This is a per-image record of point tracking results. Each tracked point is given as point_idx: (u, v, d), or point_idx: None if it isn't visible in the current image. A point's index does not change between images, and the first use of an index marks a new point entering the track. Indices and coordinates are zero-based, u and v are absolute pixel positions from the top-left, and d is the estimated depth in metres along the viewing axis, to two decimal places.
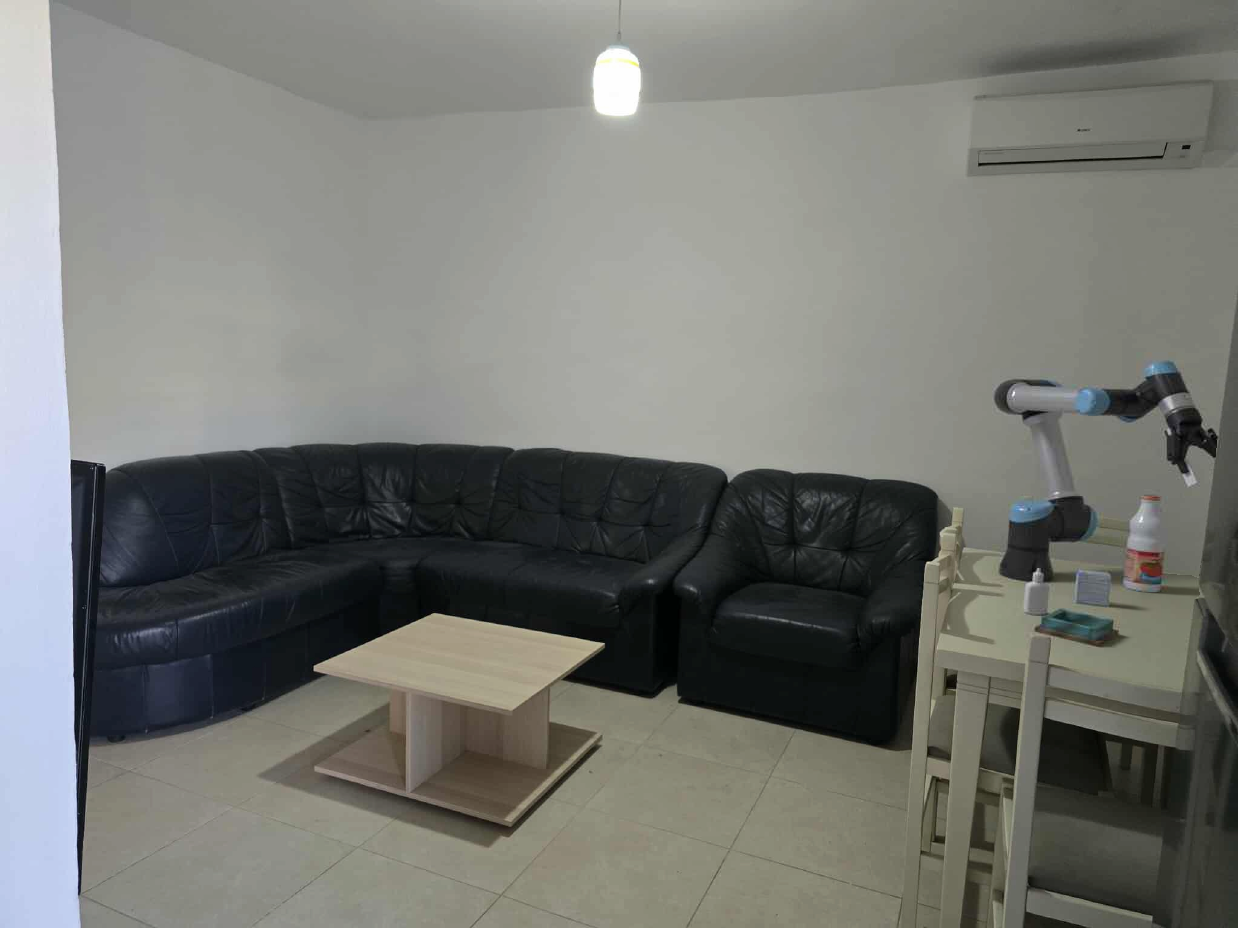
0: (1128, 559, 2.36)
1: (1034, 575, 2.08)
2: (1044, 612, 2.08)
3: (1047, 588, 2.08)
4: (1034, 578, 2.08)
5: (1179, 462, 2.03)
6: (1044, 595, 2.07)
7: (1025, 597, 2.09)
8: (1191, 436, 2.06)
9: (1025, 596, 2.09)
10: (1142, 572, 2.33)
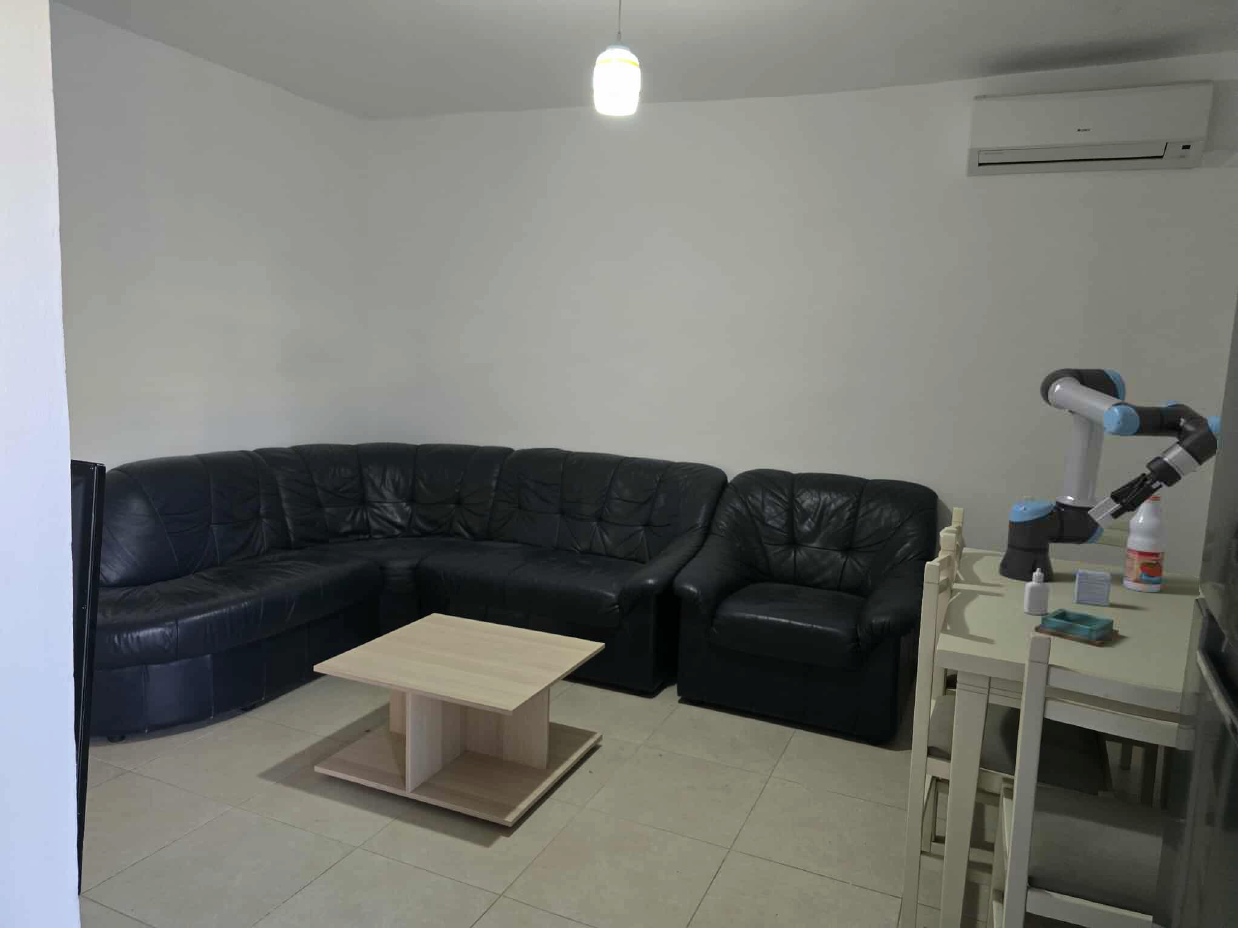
0: (1128, 559, 2.36)
1: (1034, 575, 2.08)
2: (1044, 612, 2.08)
3: (1047, 588, 2.08)
4: (1034, 578, 2.08)
5: (1123, 510, 1.94)
6: (1044, 595, 2.07)
7: (1025, 597, 2.09)
8: None
9: (1025, 596, 2.09)
10: (1142, 572, 2.33)
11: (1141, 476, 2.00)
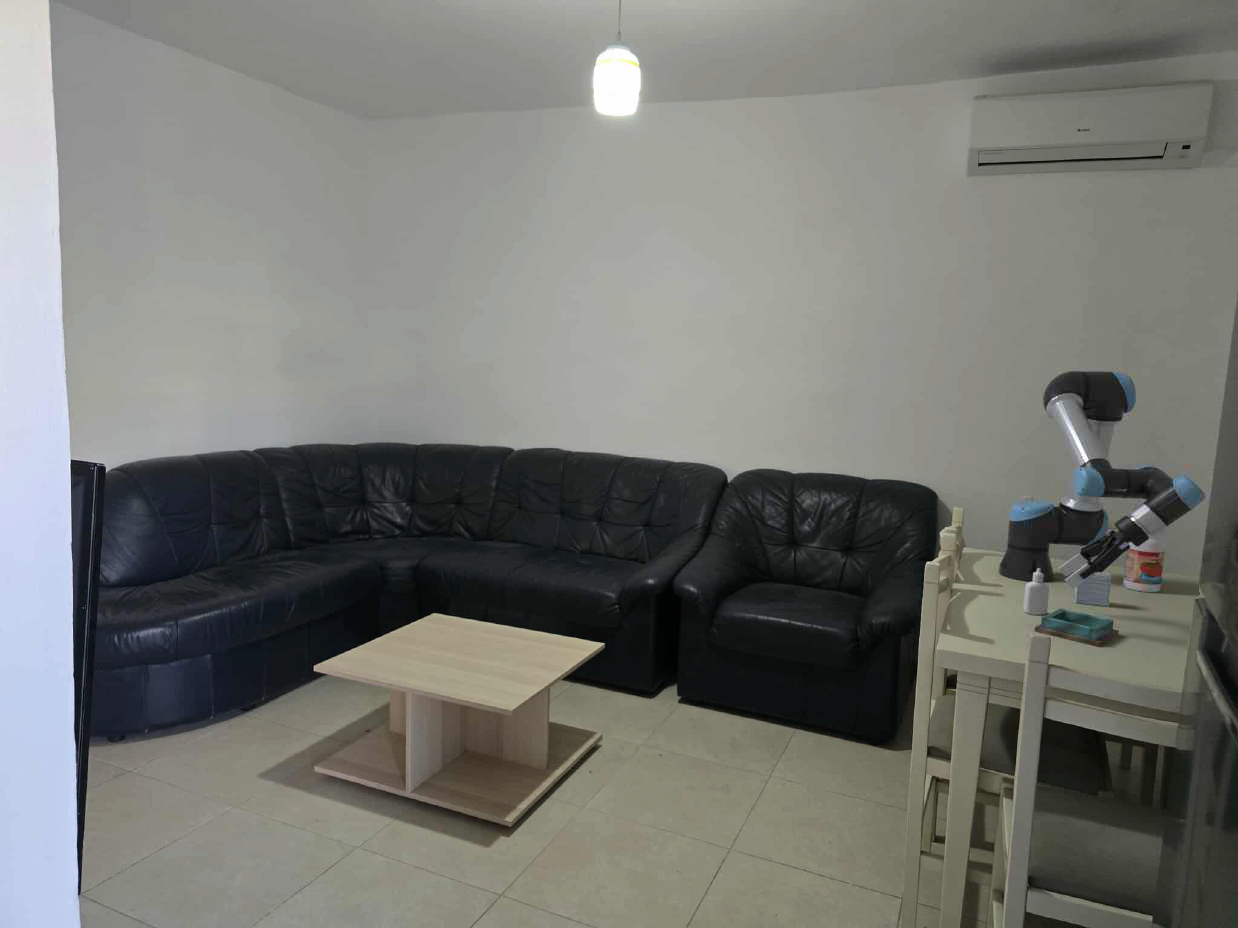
0: (1128, 559, 2.36)
1: (1034, 575, 2.08)
2: (1044, 612, 2.08)
3: (1047, 588, 2.08)
4: (1034, 578, 2.08)
5: (1092, 571, 1.95)
6: (1044, 595, 2.07)
7: (1025, 597, 2.09)
8: None
9: (1025, 596, 2.09)
10: (1142, 572, 2.33)
11: (1110, 535, 2.01)
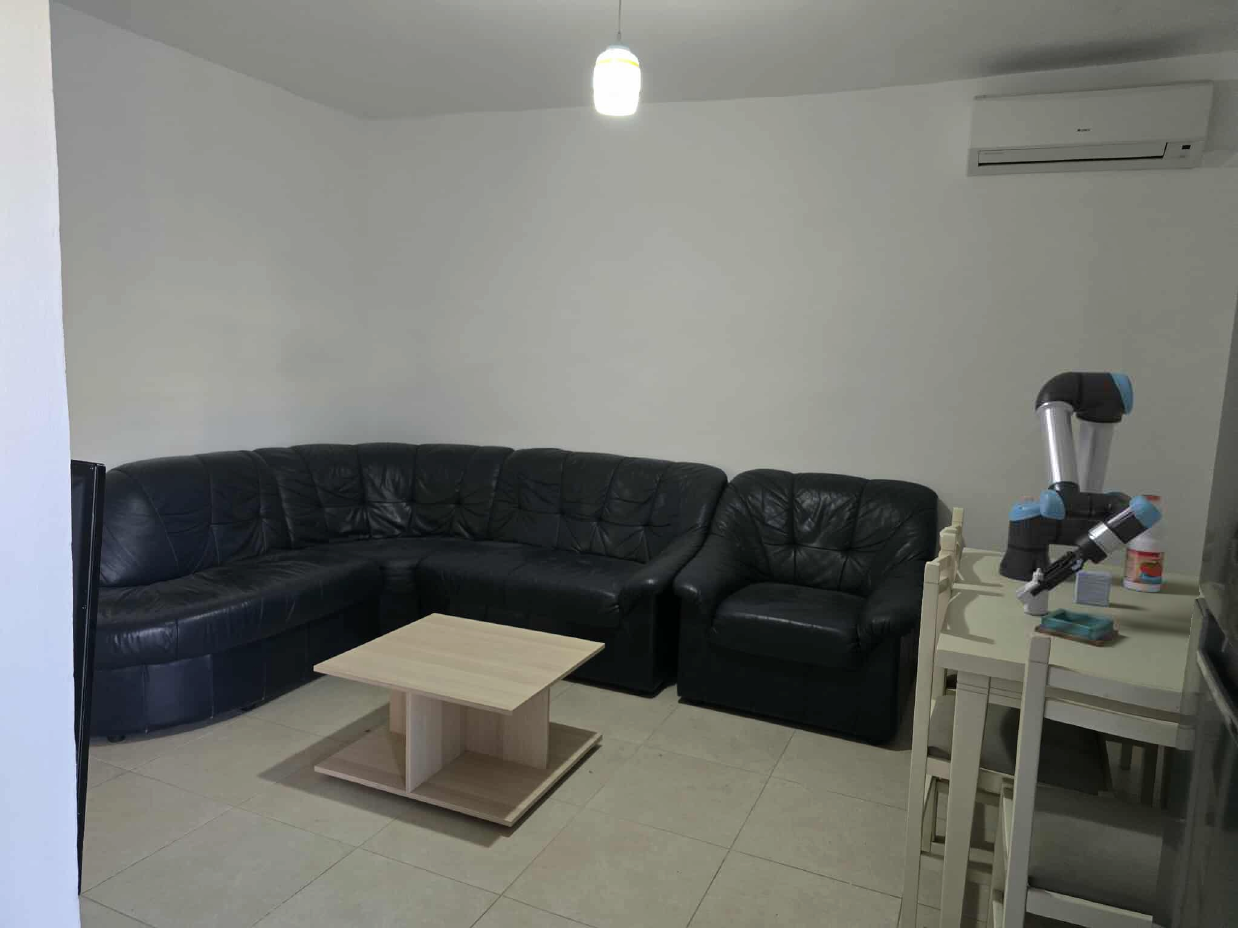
0: (1128, 559, 2.36)
1: (1034, 575, 2.08)
2: (1044, 612, 2.08)
3: None
4: (1034, 578, 2.08)
5: (1041, 588, 2.05)
6: (1044, 595, 2.07)
7: None
8: None
9: None
10: (1142, 572, 2.33)
11: (1070, 551, 2.06)
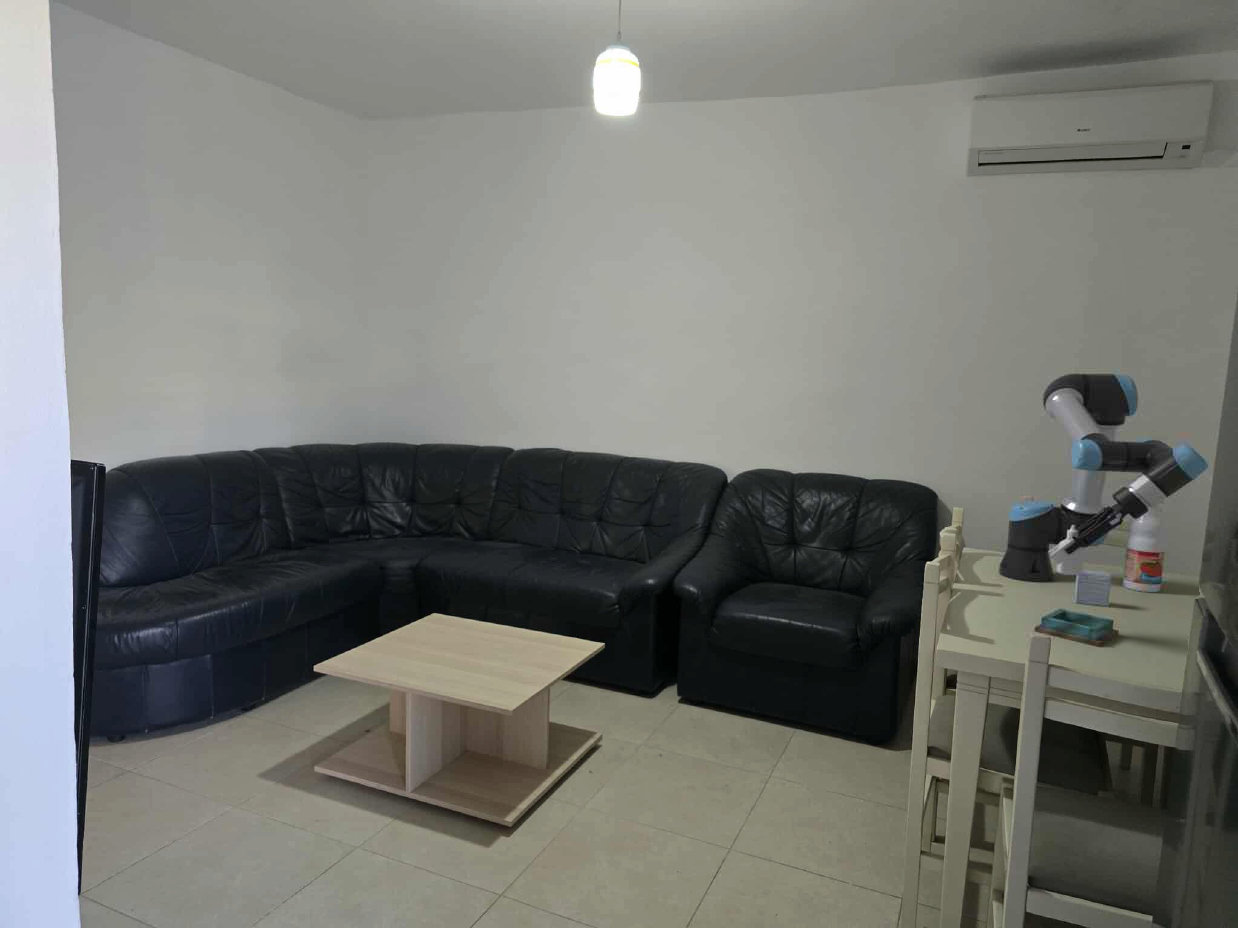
0: (1128, 559, 2.36)
1: (1068, 532, 1.95)
2: (1079, 572, 1.95)
3: None
4: (1068, 536, 1.95)
5: (1077, 546, 1.91)
6: (1079, 553, 1.94)
7: None
8: None
9: None
10: (1142, 571, 2.33)
11: (1108, 506, 1.92)
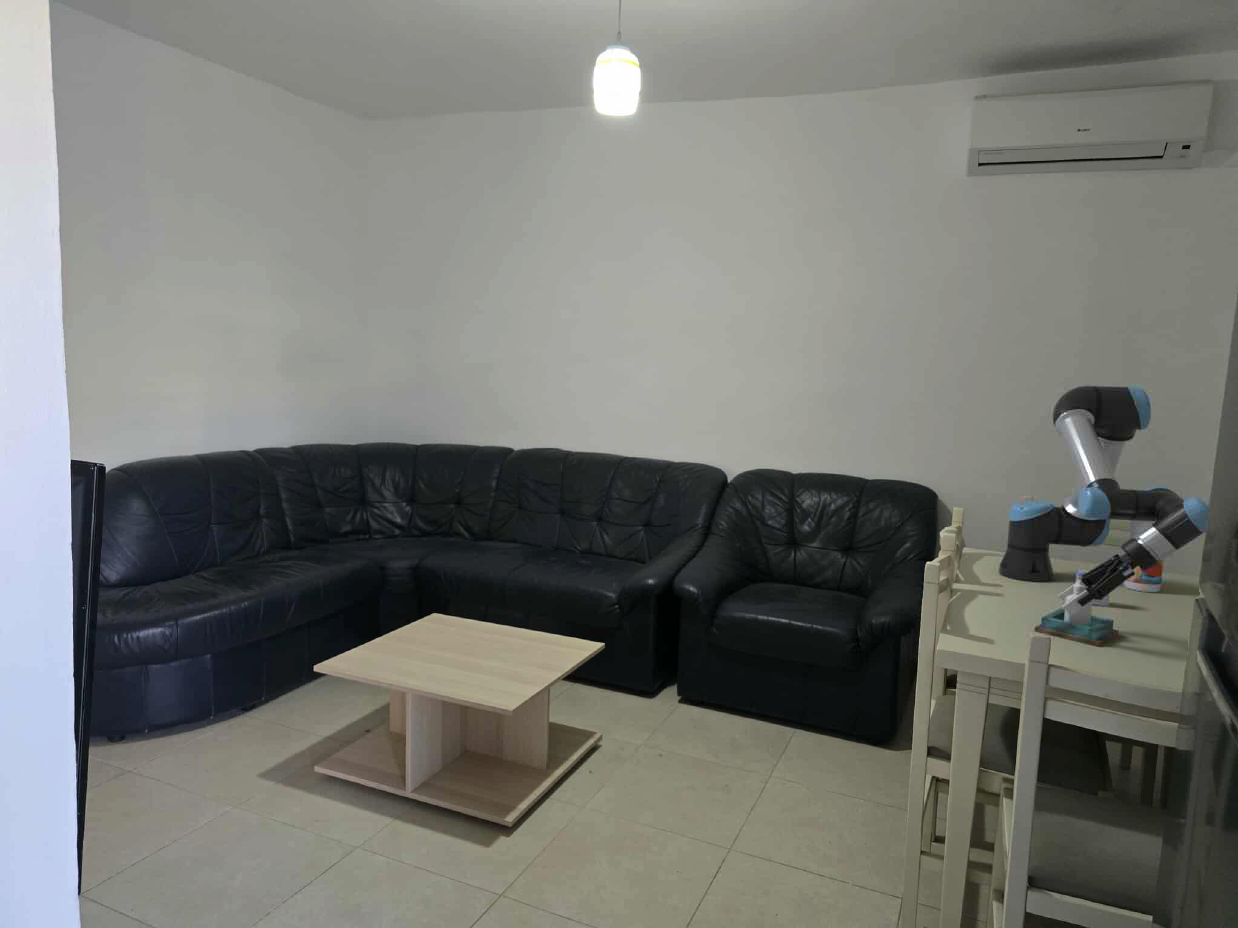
0: None
1: (1075, 587, 1.93)
2: None
3: None
4: (1075, 590, 1.93)
5: (1091, 597, 1.86)
6: (1086, 608, 1.92)
7: (1066, 611, 1.94)
8: None
9: (1065, 610, 1.94)
10: (1142, 572, 2.33)
11: (1116, 557, 1.90)
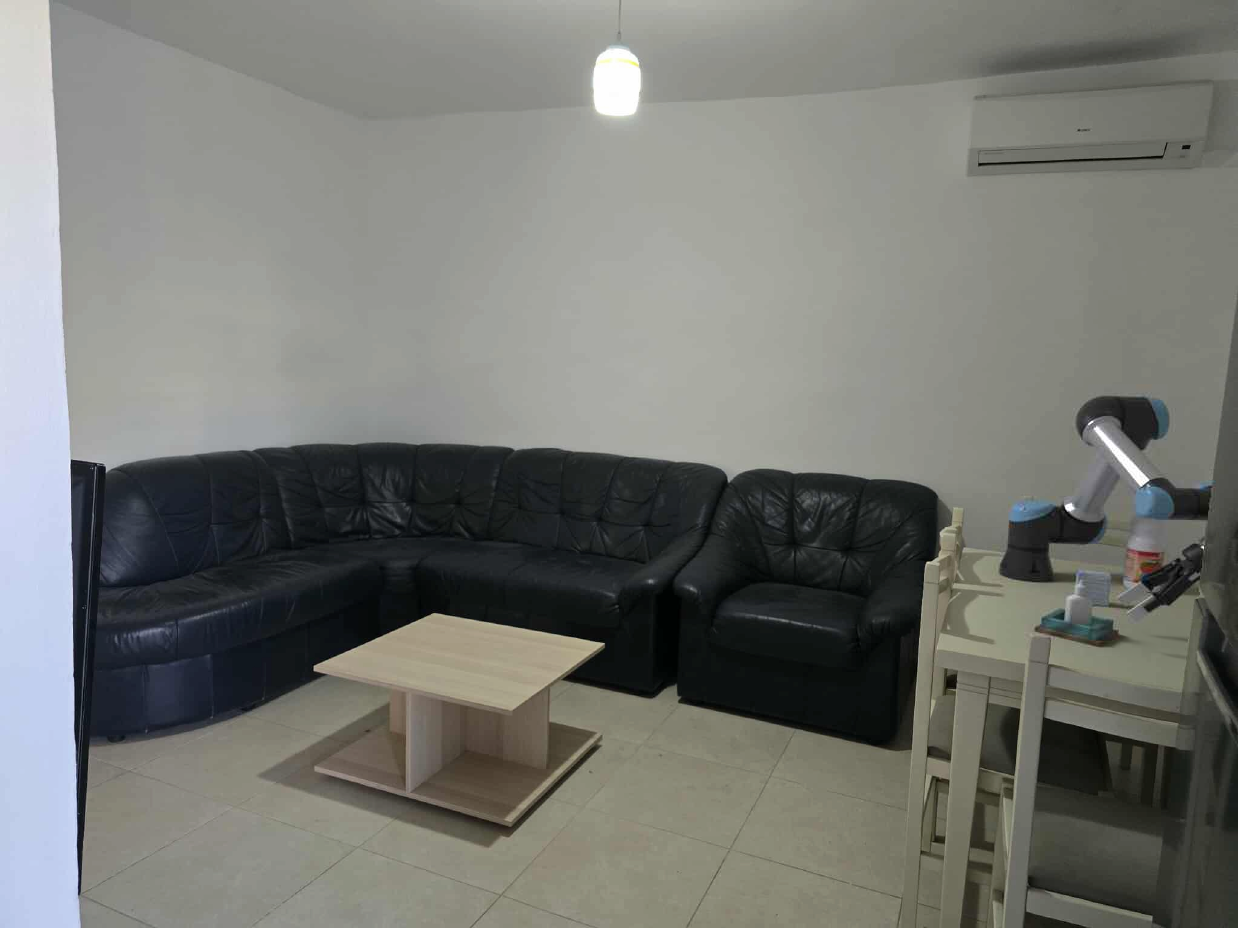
0: (1128, 559, 2.36)
1: (1076, 587, 1.93)
2: None
3: (1090, 602, 1.92)
4: (1076, 591, 1.93)
5: (1158, 603, 1.79)
6: (1087, 609, 1.92)
7: (1066, 611, 1.94)
8: None
9: (1066, 610, 1.94)
10: (1142, 571, 2.33)
11: (1176, 563, 1.85)
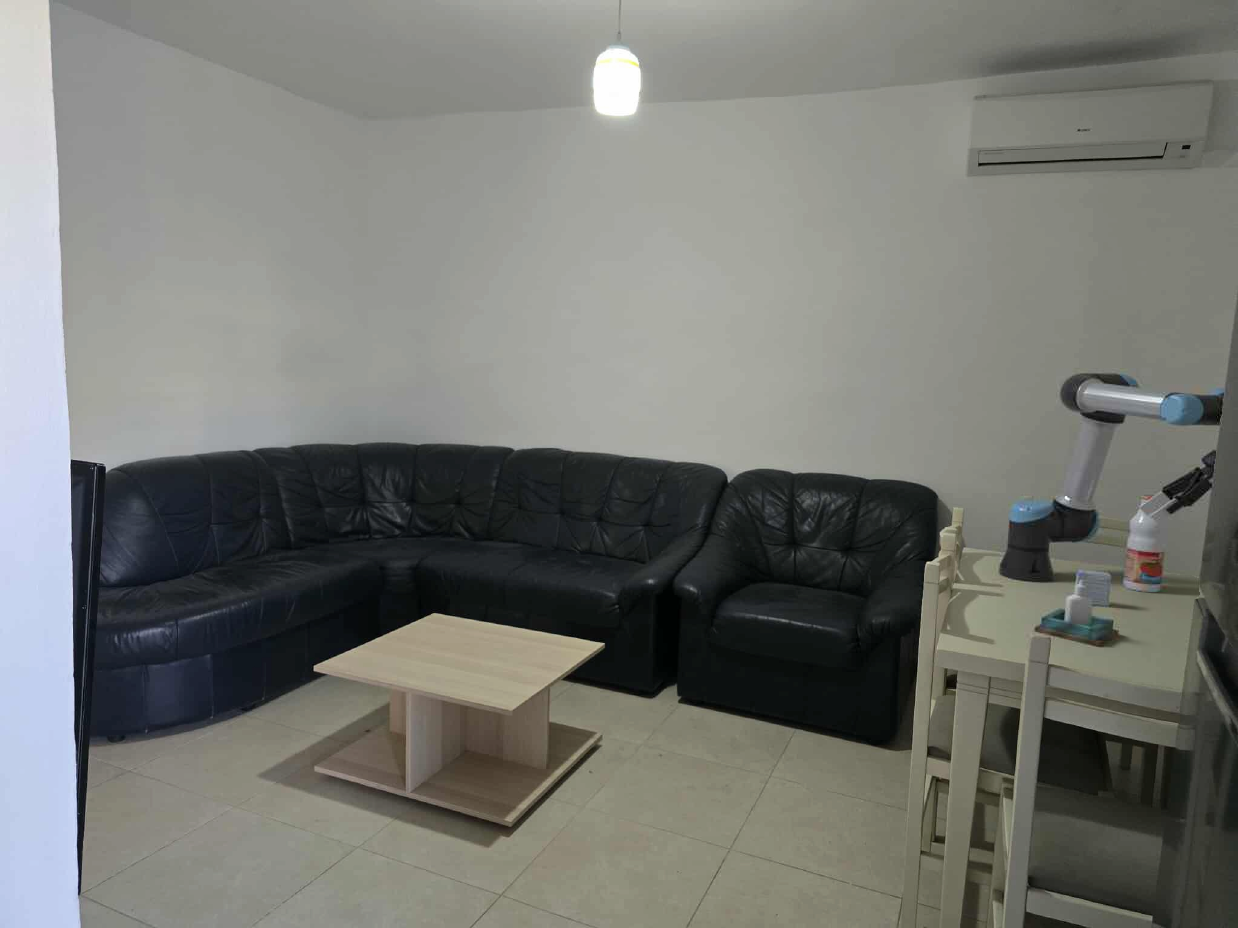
0: (1128, 559, 2.36)
1: (1076, 587, 1.93)
2: None
3: (1090, 602, 1.92)
4: (1076, 591, 1.93)
5: (1179, 505, 1.90)
6: (1087, 609, 1.92)
7: (1066, 611, 1.94)
8: None
9: (1066, 610, 1.94)
10: (1142, 571, 2.33)
11: (1196, 470, 1.96)
